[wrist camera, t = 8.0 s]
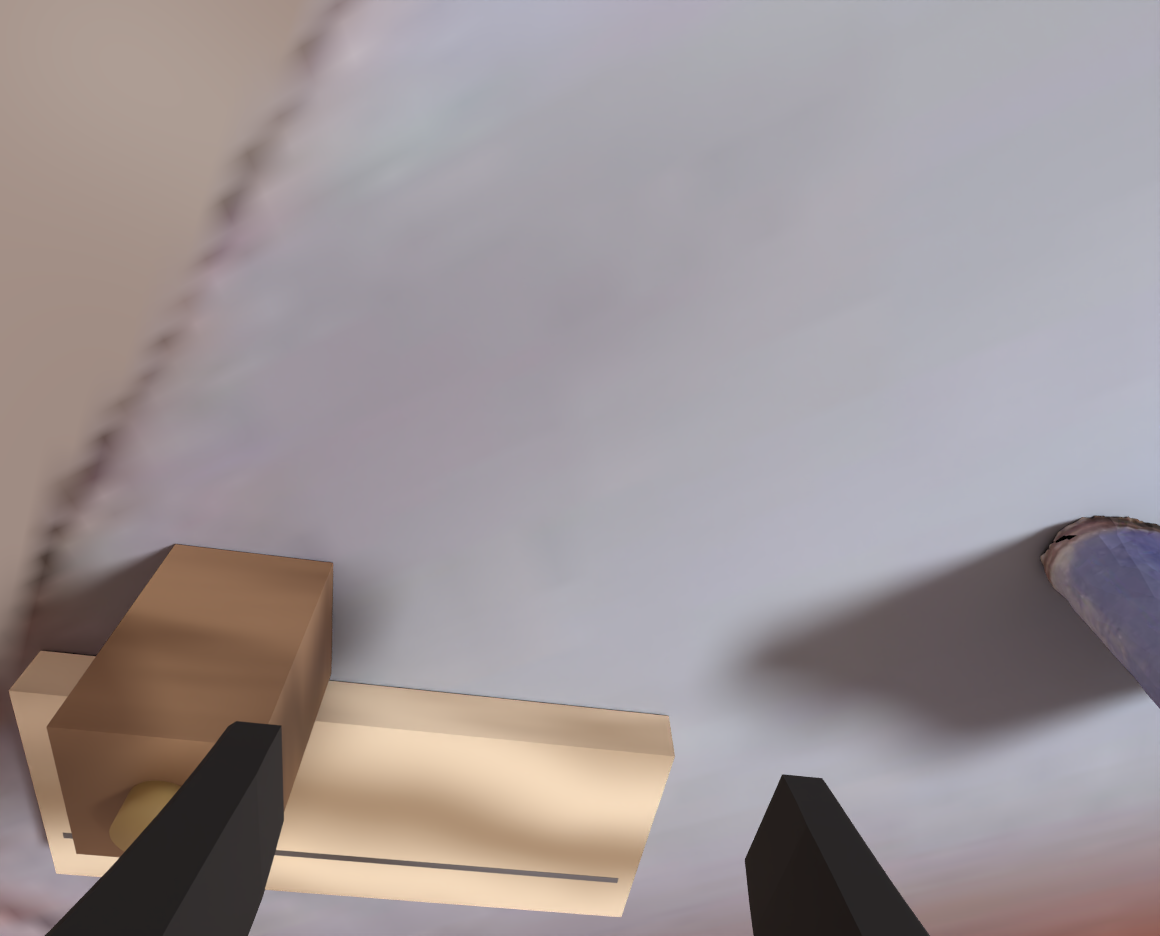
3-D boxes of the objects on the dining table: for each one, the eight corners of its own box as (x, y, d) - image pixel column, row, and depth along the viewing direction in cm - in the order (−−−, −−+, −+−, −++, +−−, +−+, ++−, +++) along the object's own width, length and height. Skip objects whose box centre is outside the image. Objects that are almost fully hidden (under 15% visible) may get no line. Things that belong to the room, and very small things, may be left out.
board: (618, 874, 28) (621, 917, 27) (81, 830, 26) (56, 874, 25) (668, 715, 24) (674, 757, 23) (40, 650, 22) (7, 691, 21)
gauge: (328, 826, 26) (262, 1062, 21) (203, 816, 26) (100, 1053, 20) (333, 562, 21) (245, 780, 15) (175, 544, 21) (22, 760, 15)
